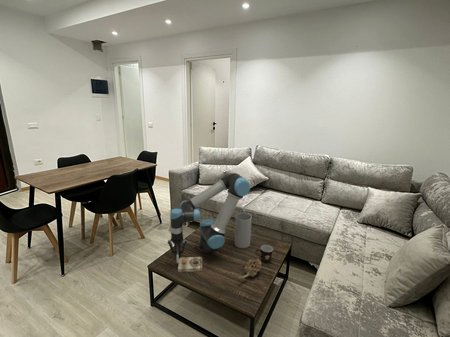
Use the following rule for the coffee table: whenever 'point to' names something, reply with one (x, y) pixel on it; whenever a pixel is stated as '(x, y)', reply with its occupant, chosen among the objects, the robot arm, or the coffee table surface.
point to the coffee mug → (265, 253)
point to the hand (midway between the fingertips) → (178, 261)
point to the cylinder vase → (243, 230)
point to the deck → (190, 264)
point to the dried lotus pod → (252, 268)
